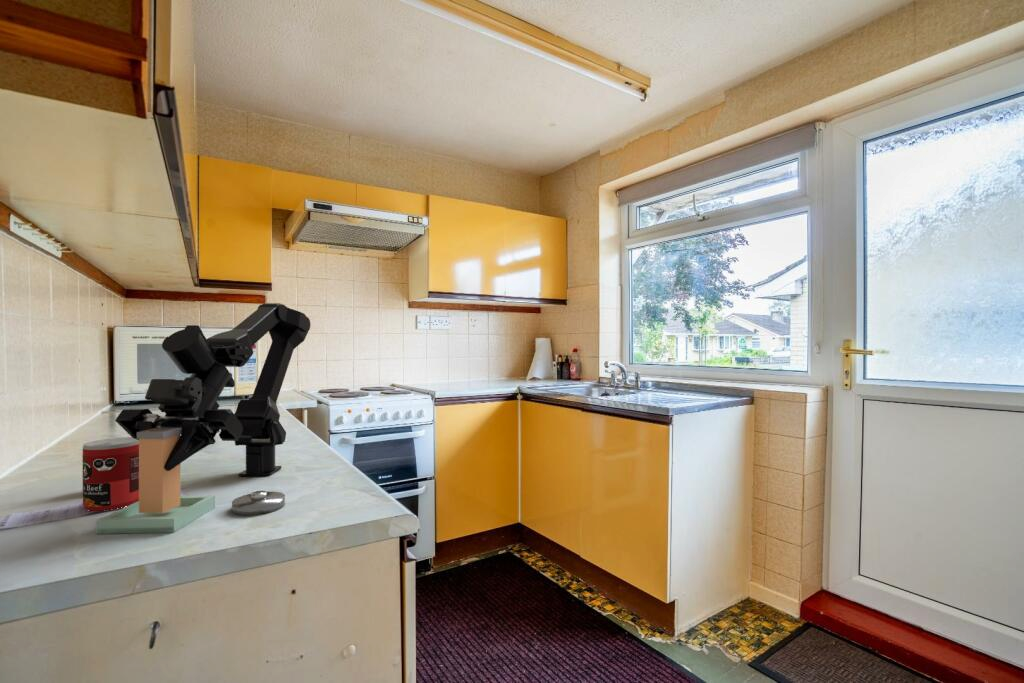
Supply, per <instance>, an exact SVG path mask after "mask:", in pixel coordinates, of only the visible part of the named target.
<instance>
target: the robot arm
mask: <svg viewBox="0 0 1024 683" xmlns="http://www.w3.org/2000/svg"><path fill="white" fill-rule="evenodd" d="M310 329H311V320H310V318H309V317H308V316H307V315H306V314H305V313H303V312H302V311H299V310H295V309H293V308H290V307H287V306H286V305H285V304H283V303H279V302H278V303H277V302H276V303H275V302H273V303H272V302H269V303H268V302H267V303H266V302H263V303H262V304H259V305H258V306H257V309H256V310H255V311H253V312H252V313H251V314H250V315H249V316H247V317H246V318H245V319H243V321H241V322H239V324H238V325H237V326H235V327H234V328H232V329H230V330H227V331H224V332H223V331H222V332H219V333H217V334H214V335H212V336H210V337H208V338H206V336H205V335H204V332H203V330H202V328H201V327H200V325H198V324H195V325H194V324H192V325H191V324H190V325H185V327H184V328H183V329H179V330H178V331H176V332H173V333H172V334H170V335H169V336H166V337H165V338H164V339H163V341H162V344H161V347H162V350H164V352H165V353H166V355H168V357H169V358H170V359H171V361H172V362H173V363H174V364H175V366H176V367H177V368H178V370H179V371H180V372H181V373H182V374H186V375H190V376H189V377H185V378H184V379H175V378H153V379H150V382H149V385H148V388H147V390H146V393H145V396H144V399H145V400H147V401H153V402H154V403H157V404H159V406H158V407H157V408H158V409H159V411H160V412H161V413H165V414H164V416H163V415H162V416H161V415H159V414H156V413H153V412H152V411H151V410H150V409H149V408H125V409H122V410H121V411H120V413H119V414H118V415H117V417H116V418H115V420H114V421H115V422H116V423H117V424H118V425H119V426H120V427H121V428H122V429H123V430H124V431H125V432H126V433H127V434H128V435H129V437H132V438H134V439H137V432H140V431H144V430H149V429H153V428H182V431H181V434H180V438H179V440H178V441H177V443H176V445H175V447H174V448H173V450H172V452H171V454H170V455H169V457H168V459H167V461H166V463H165V466H164V469H165V470H166V471H170V470H172V469H173V468H174V467H176V466H177V465H179V464H180V465H181V463H183V462H184V461H186V460H187V459H189V458H190V457H191V456H192V457H193V455H195V454H196V453H198V452H199V451H201V450H203V449H204V448H206V447H208V446H210V445H214V444H216V439H215V438H216V435H218V436H219V438H220V440H221V441H225V442H226V441H227V442H230V441H231V442H234V445H235V446H245V470H243V471H241V472H239V473H238V474H237V476H238V477H254V476H255V477H256V476H257V477H258V476H259V477H260V476H261V477H262V476H271V475H273V474H274V473H276V472H278V471H279V470H280V469H282V465H276V446H278V445H283V444H284V442H286V436H287V431H286V429H285V428H284V426H283V425H282V424H281V422H280V417H281V415H280V411H279V409H278V408H279V407H278V406H277V405H278V404H277V401H278V398H279V395H280V391H281V389H282V386H283V383H284V380H285V377H286V374H287V371H288V368H289V365H290V362H291V359H292V356H293V353H294V350H295V349H296V348H297V347H298V346H300V345H301V344H302V343H303V342H304V341H306V337H307V336H308V334H309V331H310ZM268 333H269V336H270V338H271V344H270V346H269V350H268V352H267V355H266V358H265V360H264V362H263V366H262V369H261V370H260V375H259V377H258V380H257V382H256V385H255V388H254V391H253V393H252V396H250V398H248V399H240V401H238V403H237V406H236V410H235V413H234V412H233V410H232V409H230V408H219V407H220V404H219V403H218V400H219V397H220V396H221V395H222V392H223V391H224V389H225V388H235V386H236V383H235V380H234V378H233V373H232V372H230V371H229V369H228V368H243V367H244V366H245V365H247V363H248V362H249V360H250V359H251V357H252V356H253V354H254V346H255V345H256V344H257V343H258V341H260V340H261V339H262V338H263V337H264V336H266V334H268ZM137 440H139V439H137ZM138 468H139V465H138Z"/></svg>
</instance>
